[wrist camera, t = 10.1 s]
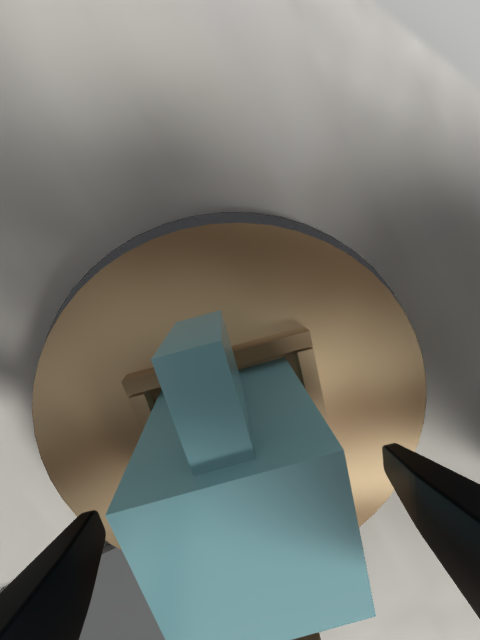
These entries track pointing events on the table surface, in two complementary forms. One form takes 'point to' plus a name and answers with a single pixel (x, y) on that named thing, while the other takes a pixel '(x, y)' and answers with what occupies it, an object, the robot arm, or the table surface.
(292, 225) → the turntable base
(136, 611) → the mat
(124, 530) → the blue cube with post
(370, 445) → the turntable
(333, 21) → the table surface
